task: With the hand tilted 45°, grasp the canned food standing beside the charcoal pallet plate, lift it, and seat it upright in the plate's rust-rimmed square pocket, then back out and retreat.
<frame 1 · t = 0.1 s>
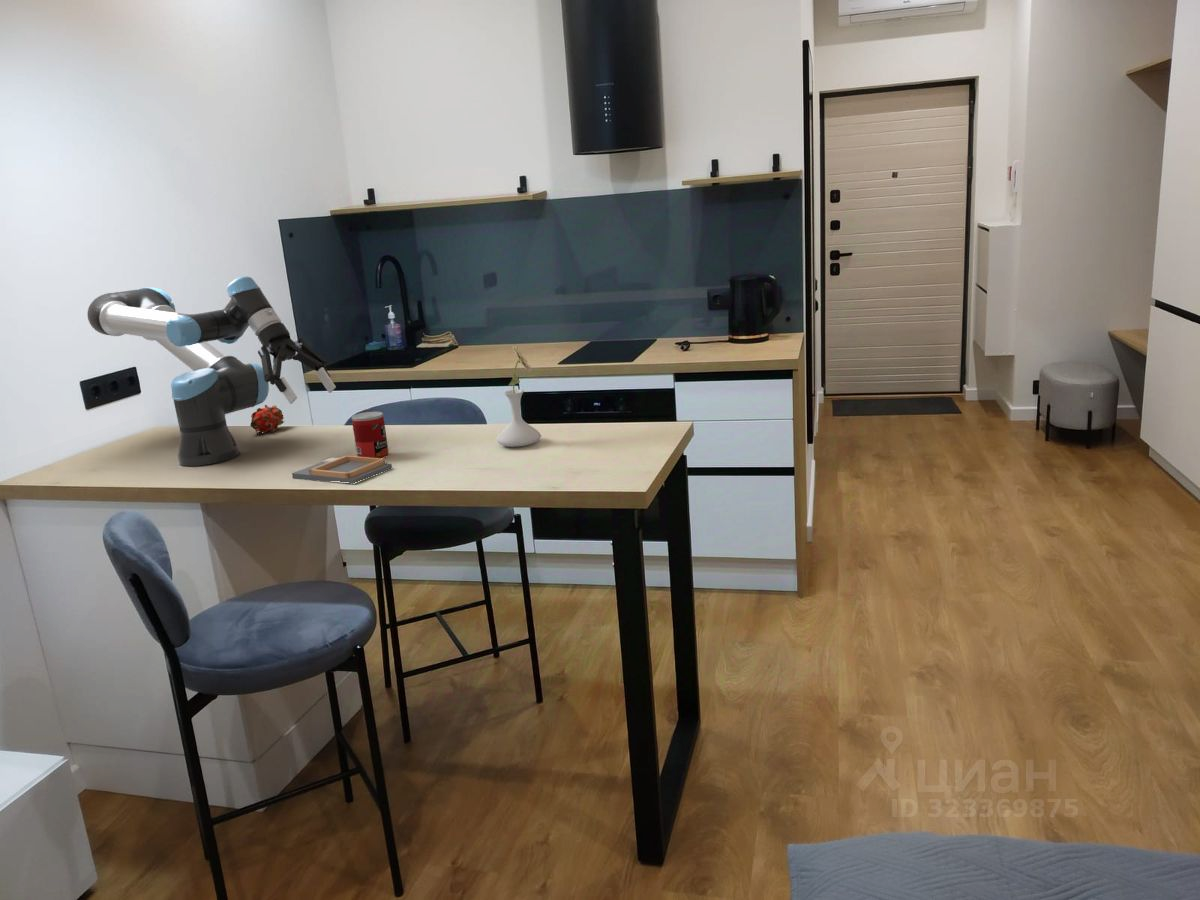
hand: (313, 395, 243), 15 cm above the bar counter, tool tilted 35°, fingers open, 13 cm apart
flower in vase: (520, 444, 238), on the bar counter
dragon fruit: (268, 432, 277), on the bar counter
pallet plate: (342, 473, 224), on the bar counter
canned food: (373, 457, 238), on the bar counter
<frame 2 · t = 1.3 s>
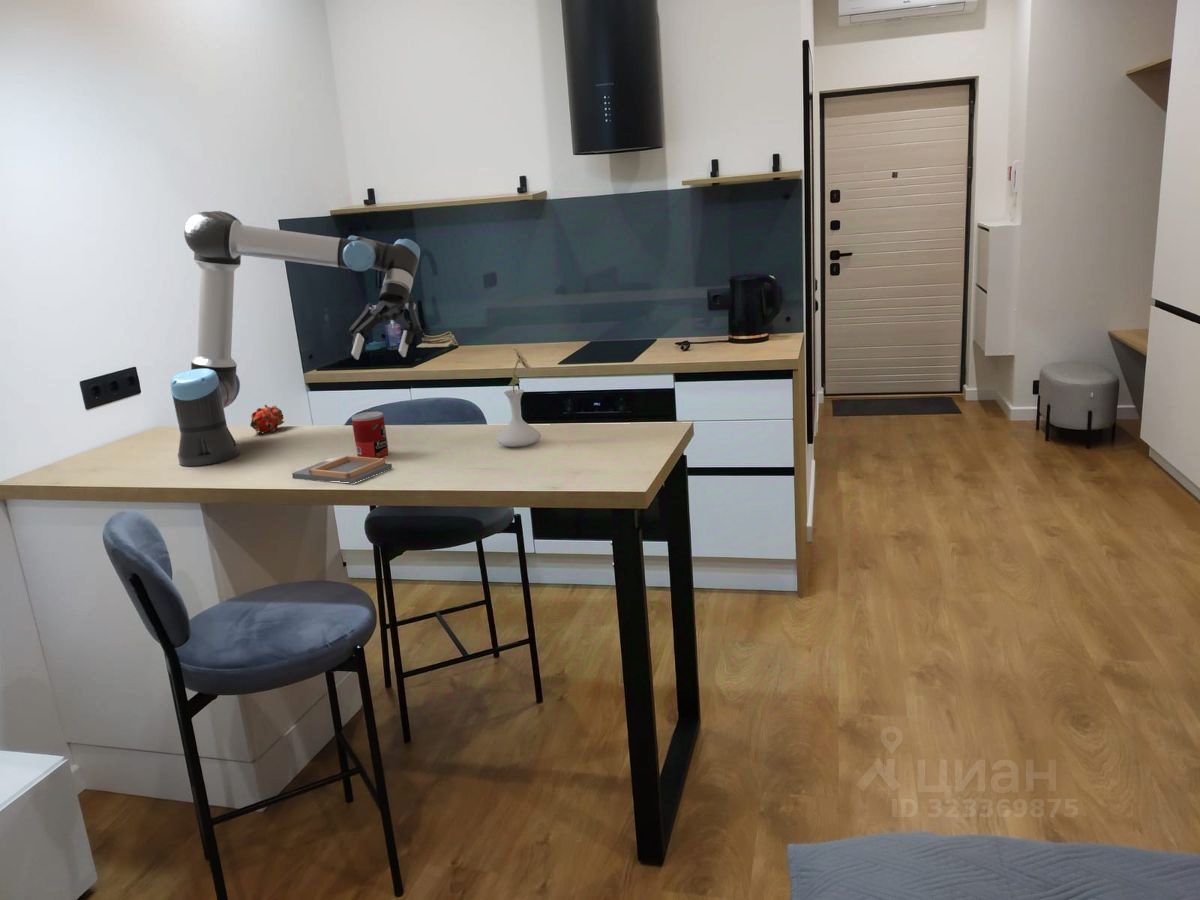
hand: (378, 355, 241), 24 cm above the bar counter, tool tilted 45°, fingers open, 13 cm apart
nothing on the bar counter moved.
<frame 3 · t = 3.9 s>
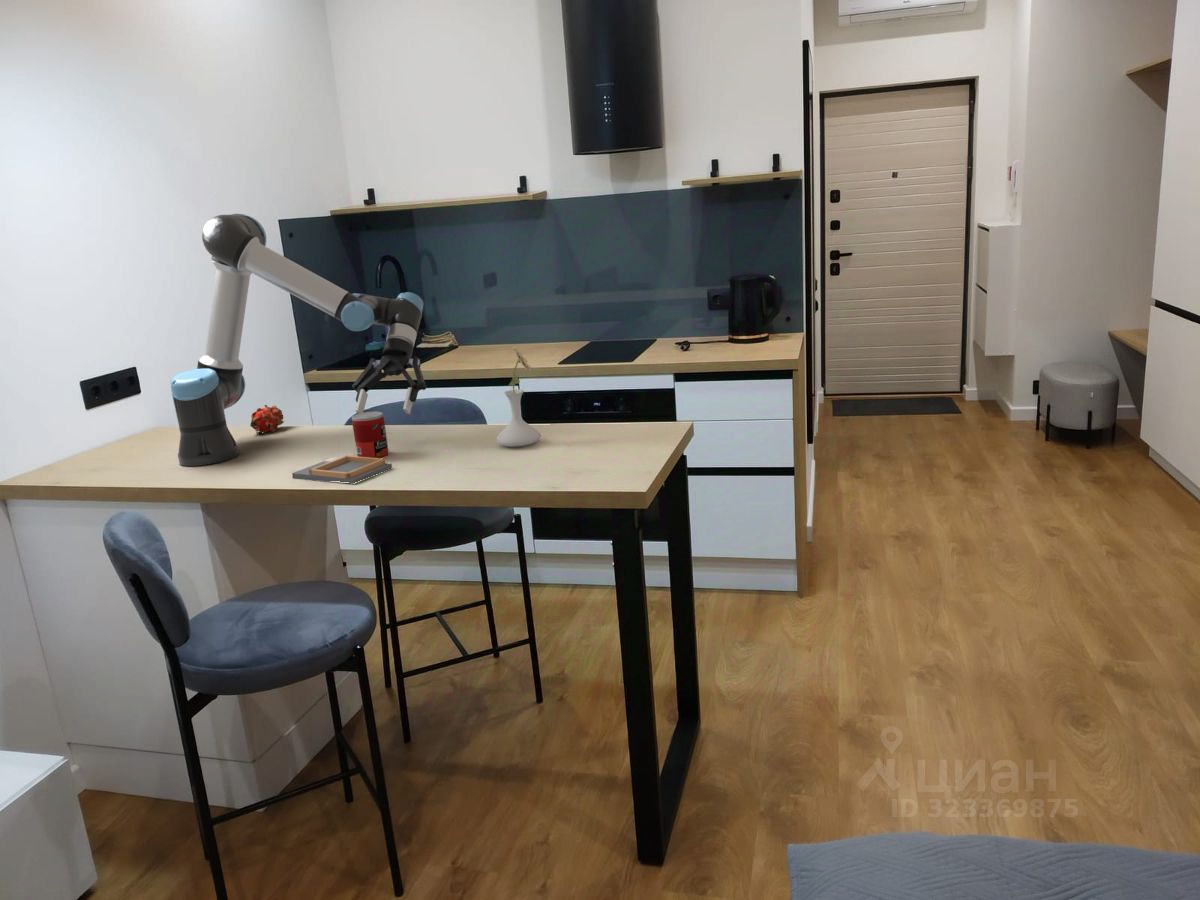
hand: (382, 412, 240), 10 cm above the bar counter, tool tilted 45°, fingers open, 13 cm apart
nothing on the bar counter moved.
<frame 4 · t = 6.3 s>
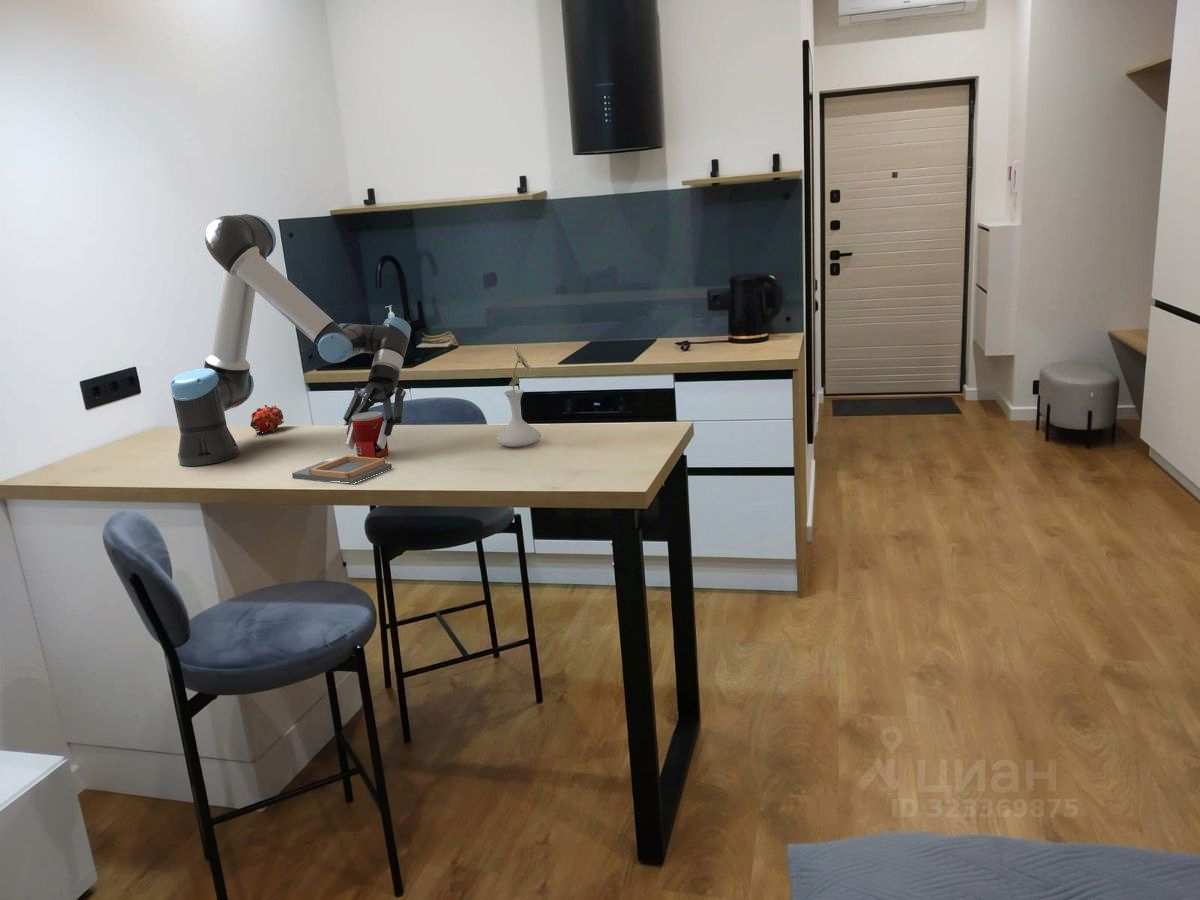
hand: (365, 446, 233), 4 cm above the bar counter, tool tilted 45°, fingers closed on canned food, 8 cm apart
canned food: (373, 457, 238), on the bar counter, touching gripper
everything else where it was.
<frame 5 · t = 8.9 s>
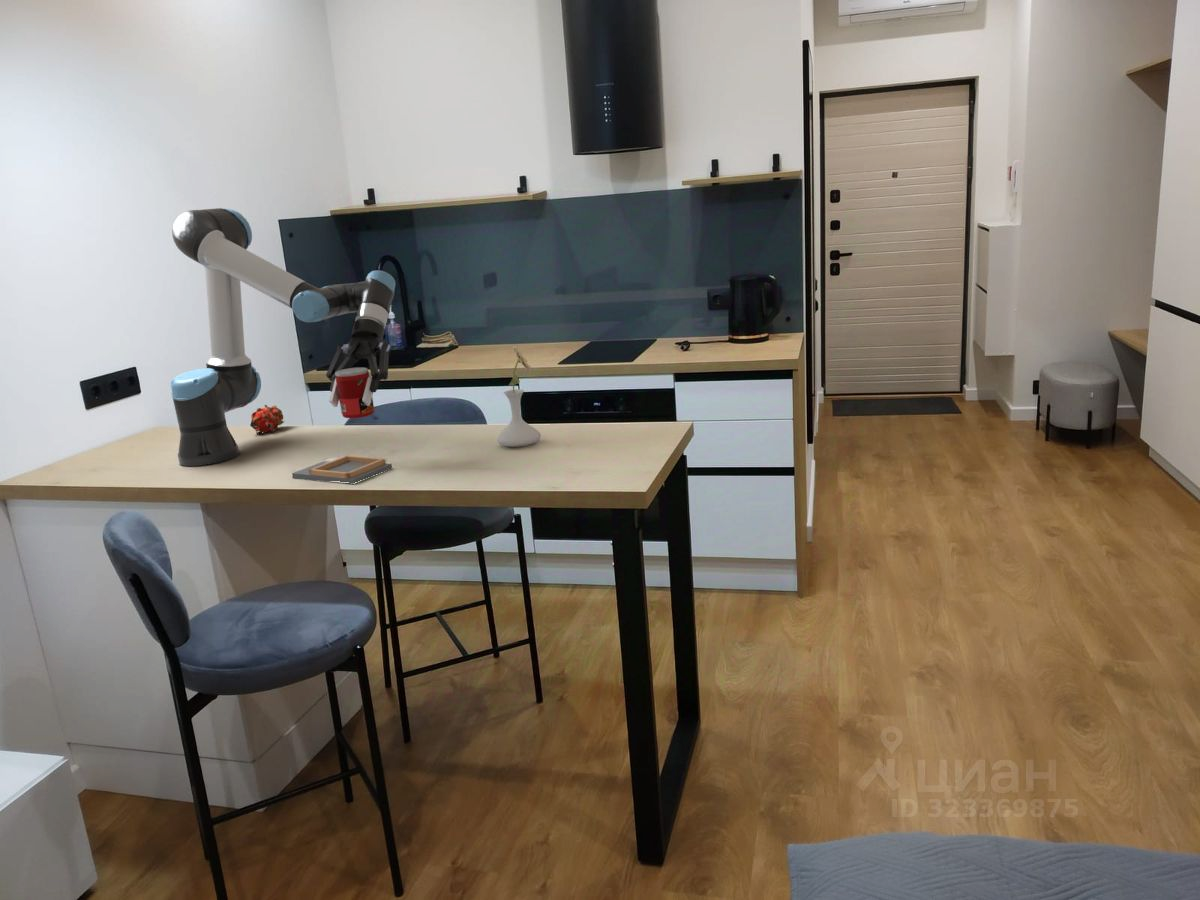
hand: (349, 403, 223), 16 cm above the bar counter, tool tilted 45°, fingers closed on canned food, 8 cm apart
canned food: (358, 415, 227), point 13 cm above the bar counter, touching gripper
everything else where it was.
when the fingers open (6 cm above the bar counter, at t = 11.7 s): canned food drops 1 cm, resting on pallet plate.
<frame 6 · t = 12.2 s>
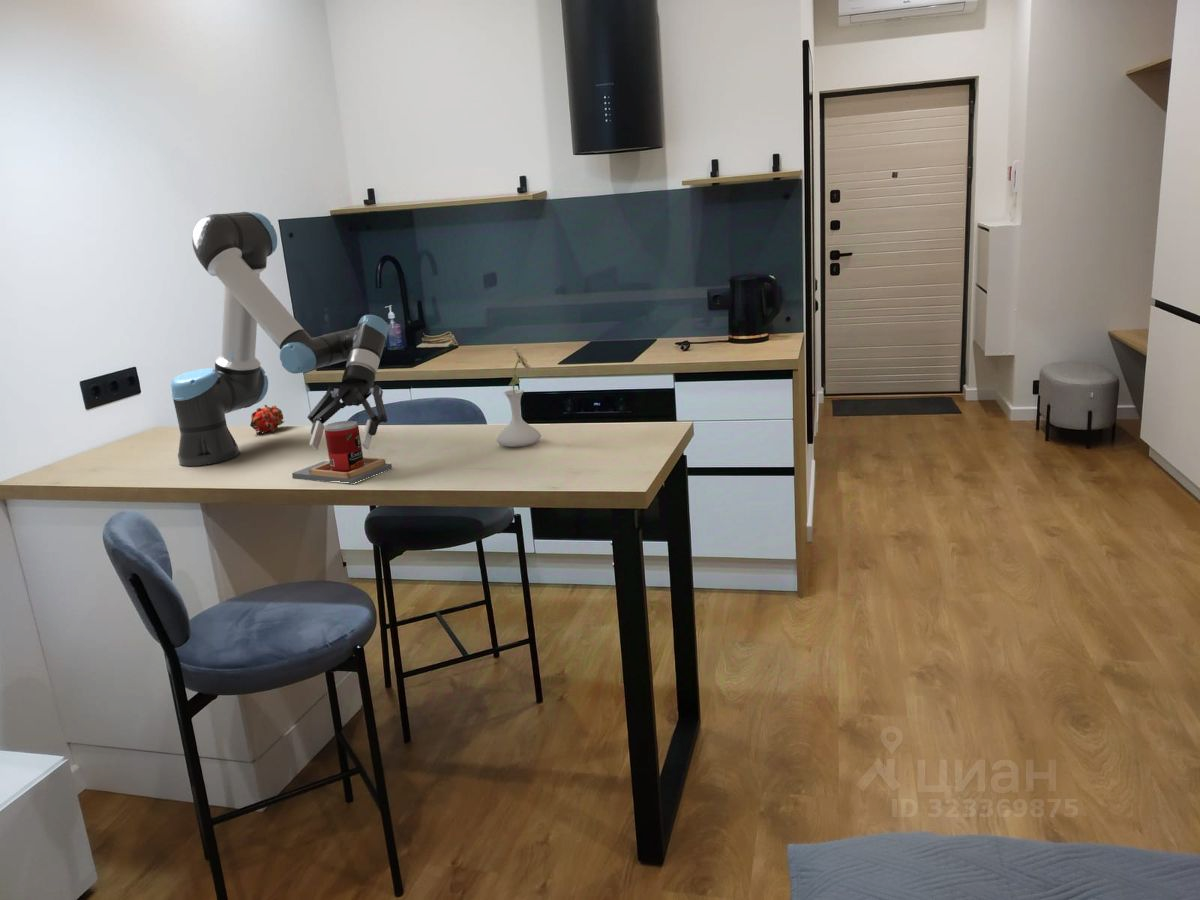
hand: (338, 447, 219), 7 cm above the bar counter, tool tilted 45°, fingers open, 13 cm apart
canned food: (348, 469, 223), point 1 cm above the bar counter, touching pallet plate
everything else where it was.
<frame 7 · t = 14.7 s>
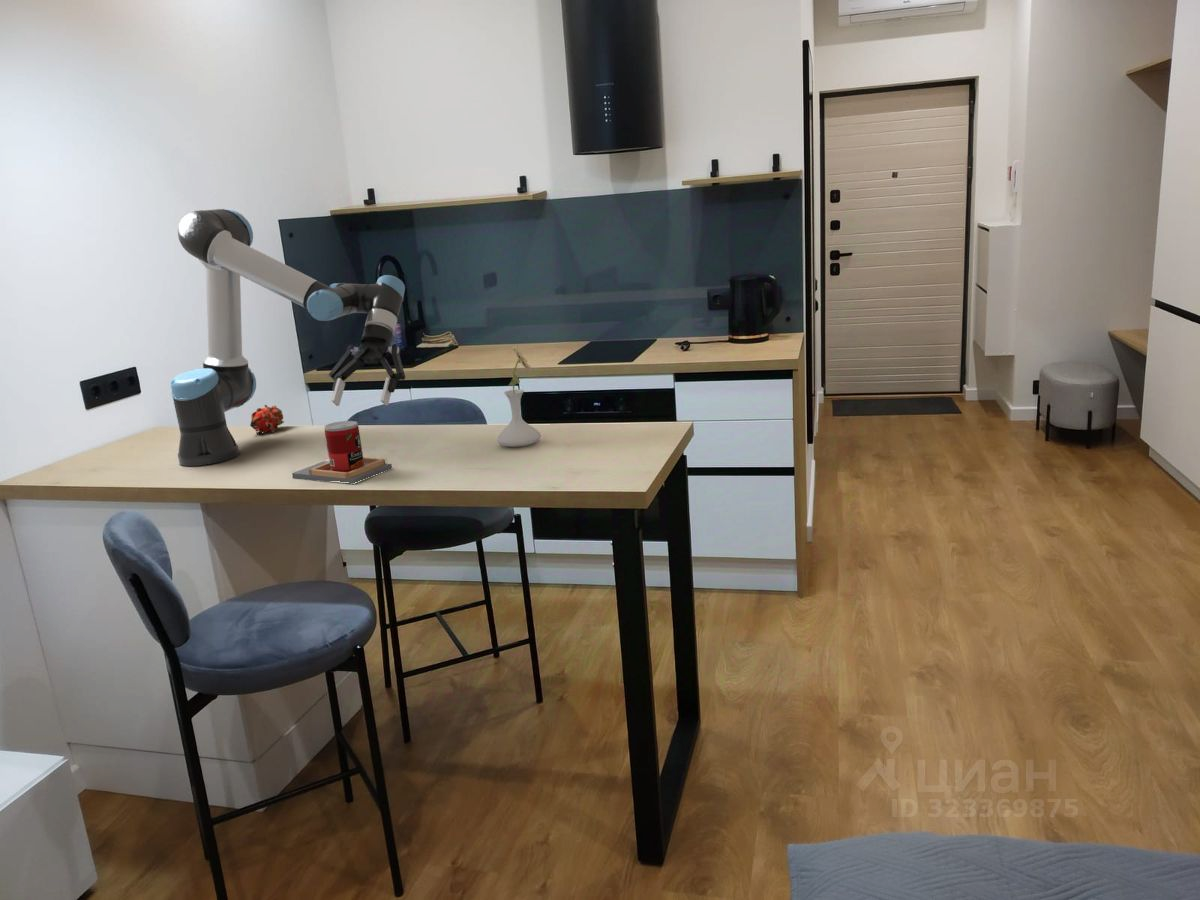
hand: (359, 403, 230), 15 cm above the bar counter, tool tilted 40°, fingers open, 13 cm apart
nothing on the bar counter moved.
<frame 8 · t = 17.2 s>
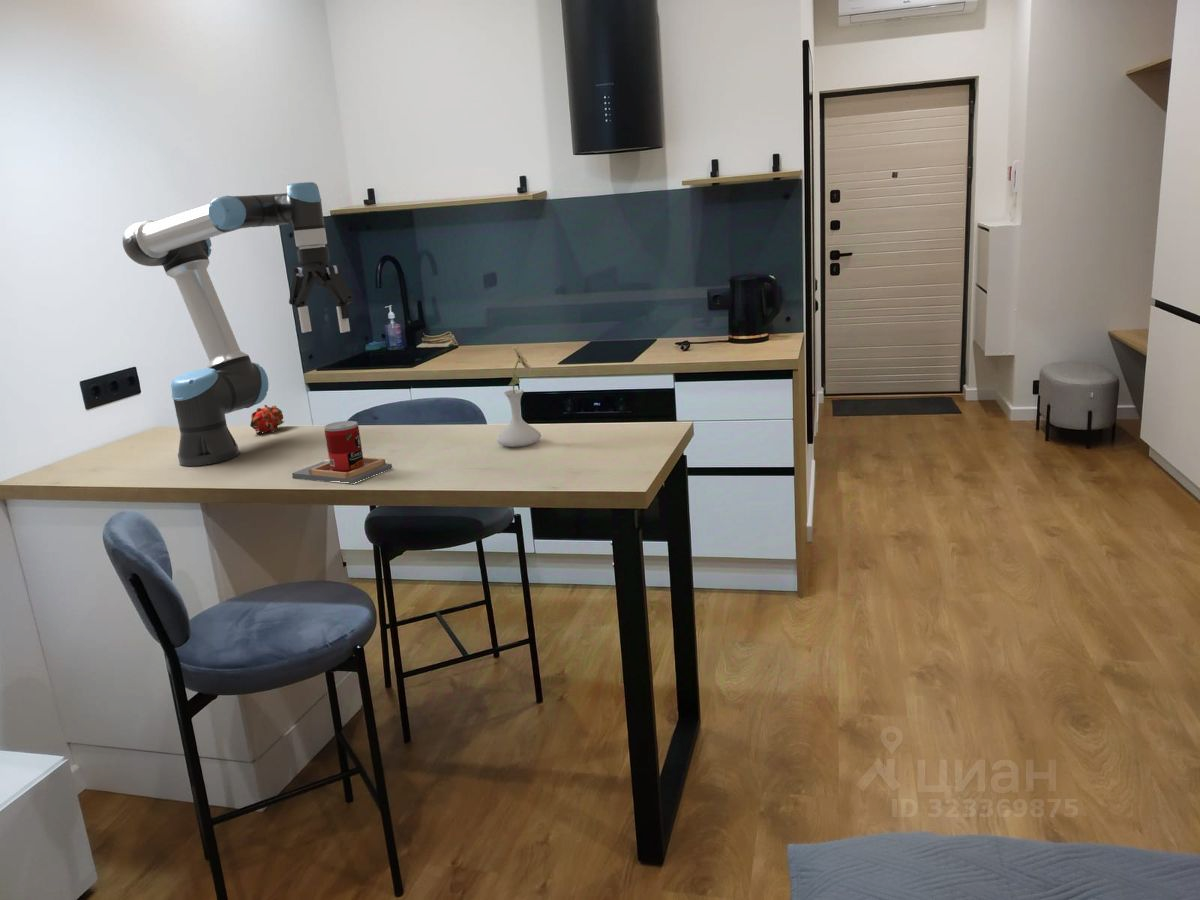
hand: (325, 332, 237), 32 cm above the bar counter, tool pointing down, fingers open, 13 cm apart
nothing on the bar counter moved.
at the end: canned food 0.1 cm from the target spot on the pallet plate, point 1.0 cm above the pallet plate's base; canned food tilted 0°; the gripper is holding nothing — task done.
